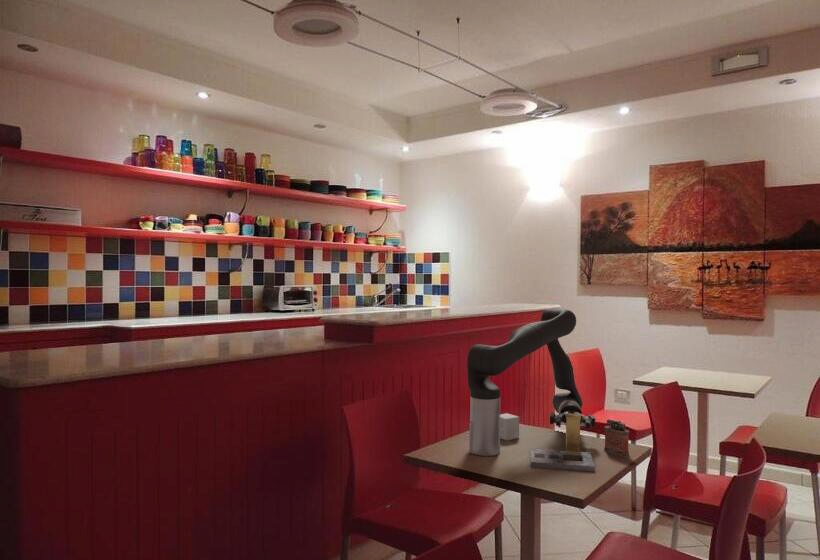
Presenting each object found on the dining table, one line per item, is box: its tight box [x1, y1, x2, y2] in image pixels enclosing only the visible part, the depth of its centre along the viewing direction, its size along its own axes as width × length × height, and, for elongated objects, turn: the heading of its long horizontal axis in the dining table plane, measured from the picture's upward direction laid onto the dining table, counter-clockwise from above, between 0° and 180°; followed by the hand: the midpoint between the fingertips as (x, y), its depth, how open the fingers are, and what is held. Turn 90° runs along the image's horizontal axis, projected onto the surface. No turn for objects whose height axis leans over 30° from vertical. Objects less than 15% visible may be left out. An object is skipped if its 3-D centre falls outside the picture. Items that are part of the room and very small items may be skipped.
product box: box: [500, 413, 520, 441], centre depth 194 cm, size 6×6×7 cm
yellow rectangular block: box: [565, 413, 581, 452], centre depth 180 cm, size 4×4×11 cm
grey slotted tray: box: [530, 448, 596, 473], centre depth 168 cm, size 18×13×2 cm
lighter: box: [603, 419, 630, 457], centre depth 177 cm, size 8×3×10 cm, turn 37°
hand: (573, 424), depth 179 cm, fingers open, 8 cm apart
